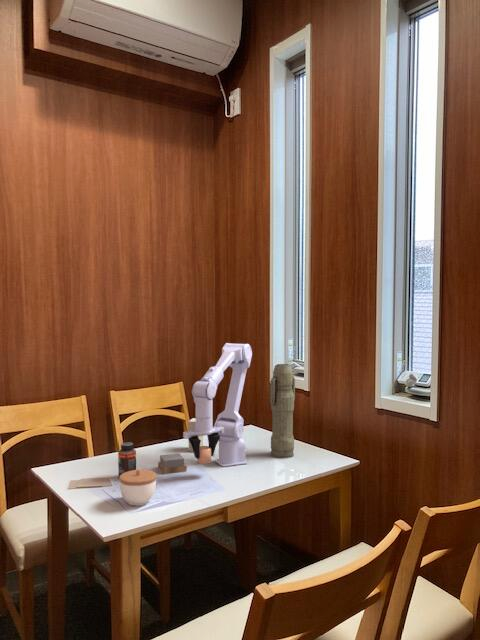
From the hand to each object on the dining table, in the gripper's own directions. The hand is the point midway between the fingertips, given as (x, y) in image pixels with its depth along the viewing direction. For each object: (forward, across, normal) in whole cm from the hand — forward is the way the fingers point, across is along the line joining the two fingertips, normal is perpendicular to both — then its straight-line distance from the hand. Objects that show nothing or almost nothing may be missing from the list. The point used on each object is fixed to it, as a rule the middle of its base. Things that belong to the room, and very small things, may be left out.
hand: (204, 456), depth 168 cm
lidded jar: (+7, +27, +10) cm, 29 cm away
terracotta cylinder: (+2, 0, 0) cm, 2 cm away
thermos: (+7, -37, -6) cm, 38 cm away
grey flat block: (+5, +7, -12) cm, 14 cm away
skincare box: (+7, -11, -29) cm, 32 cm away
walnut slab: (+7, +6, -12) cm, 15 cm away
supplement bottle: (+7, +23, -12) cm, 27 cm away
